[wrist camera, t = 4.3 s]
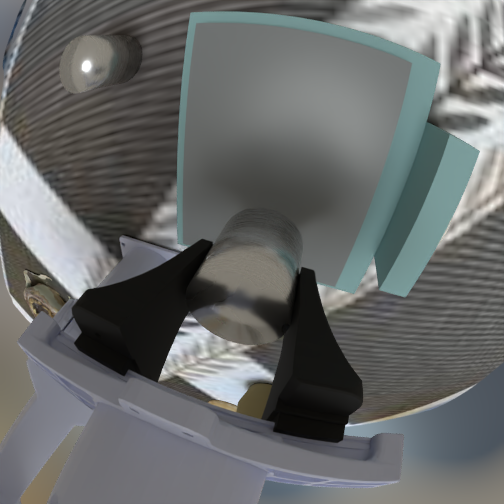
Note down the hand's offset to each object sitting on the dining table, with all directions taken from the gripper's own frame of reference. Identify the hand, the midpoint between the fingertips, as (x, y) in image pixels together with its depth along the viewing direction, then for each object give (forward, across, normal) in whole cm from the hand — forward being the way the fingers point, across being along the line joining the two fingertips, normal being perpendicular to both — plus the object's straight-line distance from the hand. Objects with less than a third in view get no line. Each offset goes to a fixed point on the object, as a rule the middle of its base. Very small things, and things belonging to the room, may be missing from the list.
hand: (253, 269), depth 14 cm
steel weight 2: (+2, 0, 0) cm, 2 cm away
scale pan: (+6, +1, -4) cm, 7 cm away
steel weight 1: (+8, +15, -10) cm, 20 cm away
